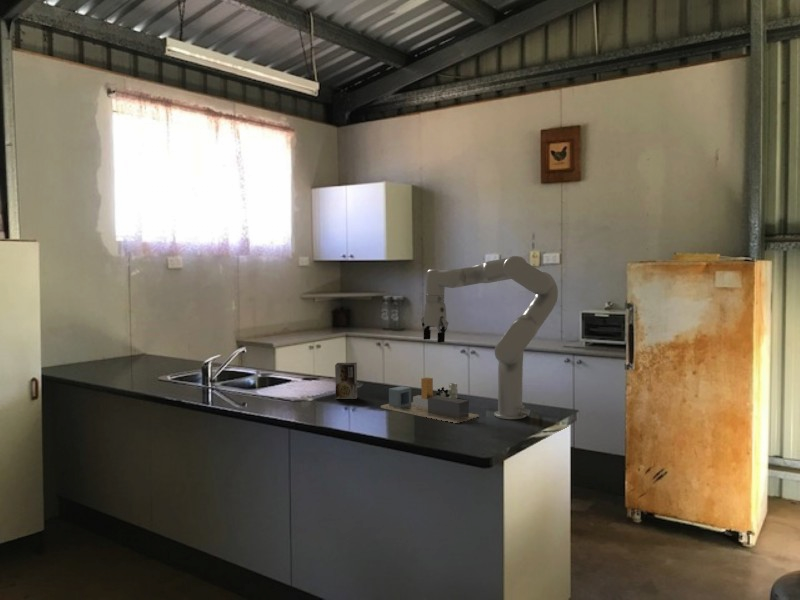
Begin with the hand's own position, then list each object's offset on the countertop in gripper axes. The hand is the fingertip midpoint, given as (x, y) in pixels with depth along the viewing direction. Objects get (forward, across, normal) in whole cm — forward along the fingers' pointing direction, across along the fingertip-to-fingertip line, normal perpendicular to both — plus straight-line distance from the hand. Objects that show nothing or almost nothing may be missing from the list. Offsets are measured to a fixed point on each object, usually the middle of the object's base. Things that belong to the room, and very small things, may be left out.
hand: (433, 340), depth 264 cm
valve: (+30, +13, -19) cm, 38 cm away
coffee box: (+31, +42, +17) cm, 55 cm away
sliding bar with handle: (+27, -6, +2) cm, 28 cm away
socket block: (+29, +14, +7) cm, 33 cm away
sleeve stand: (+29, -2, +3) cm, 29 cm away
